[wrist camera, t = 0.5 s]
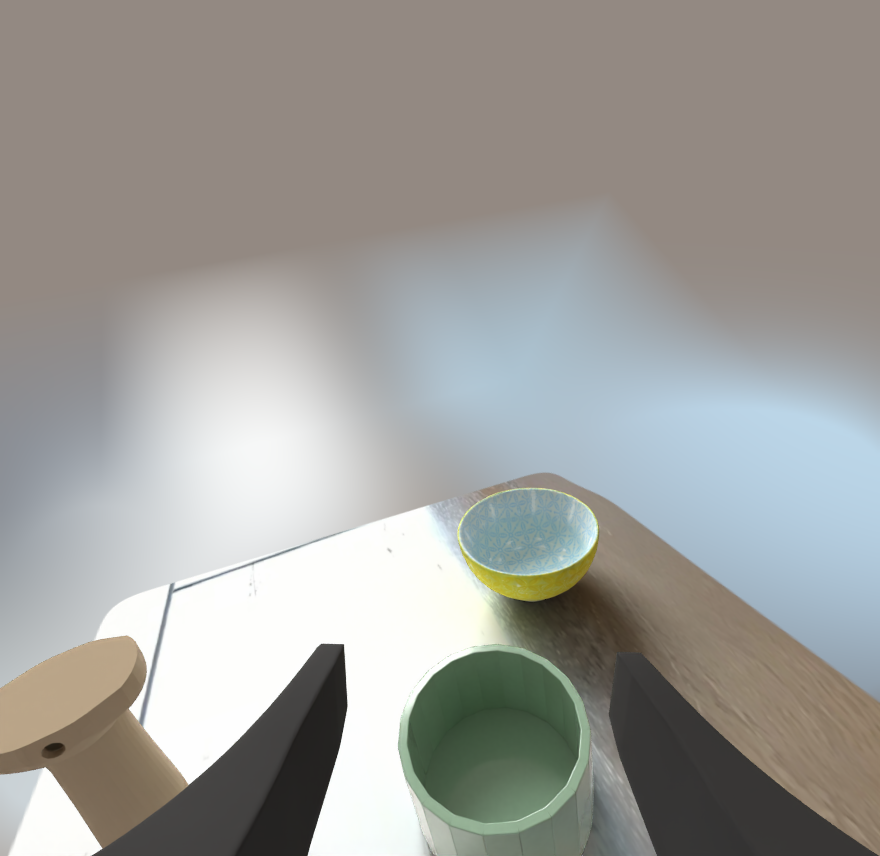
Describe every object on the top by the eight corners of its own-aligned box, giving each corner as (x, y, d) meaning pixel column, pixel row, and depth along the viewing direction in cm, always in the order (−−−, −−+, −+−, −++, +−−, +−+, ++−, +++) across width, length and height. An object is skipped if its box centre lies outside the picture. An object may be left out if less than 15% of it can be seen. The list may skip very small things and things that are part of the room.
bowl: (629, 579, 41) (629, 519, 39) (536, 663, 35) (529, 599, 33) (529, 525, 50) (524, 473, 47) (441, 585, 44) (430, 530, 41)
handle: (251, 877, 27) (133, 695, 20) (120, 961, 24) (-59, 785, 18) (241, 793, 31) (140, 619, 24) (127, 858, 28) (-16, 686, 22)
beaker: (632, 847, 25) (633, 778, 23) (449, 941, 23) (427, 877, 20) (540, 685, 34) (533, 622, 31) (401, 742, 32) (382, 680, 29)
